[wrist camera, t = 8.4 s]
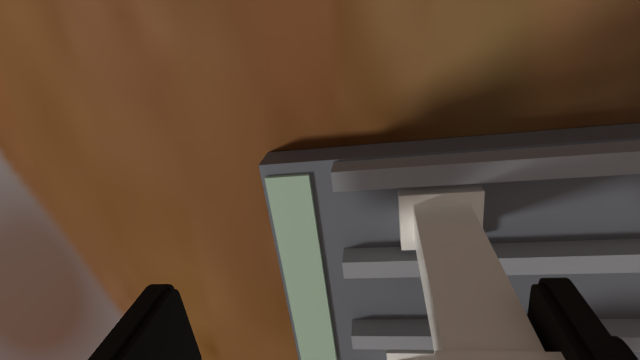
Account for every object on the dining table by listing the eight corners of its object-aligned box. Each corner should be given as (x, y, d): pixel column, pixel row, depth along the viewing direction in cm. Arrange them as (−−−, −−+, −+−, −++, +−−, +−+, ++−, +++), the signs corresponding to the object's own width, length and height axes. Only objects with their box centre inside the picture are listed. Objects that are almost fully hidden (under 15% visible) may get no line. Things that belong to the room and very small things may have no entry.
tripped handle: (478, 181, 14) (615, 403, 6) (476, 236, 15) (592, 488, 7) (397, 186, 15) (427, 397, 7) (400, 239, 16) (429, 477, 8)
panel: (787, 110, 13) (872, 132, 11) (689, 372, 18) (733, 422, 16) (268, 152, 16) (251, 175, 14) (309, 365, 22) (301, 406, 19)
